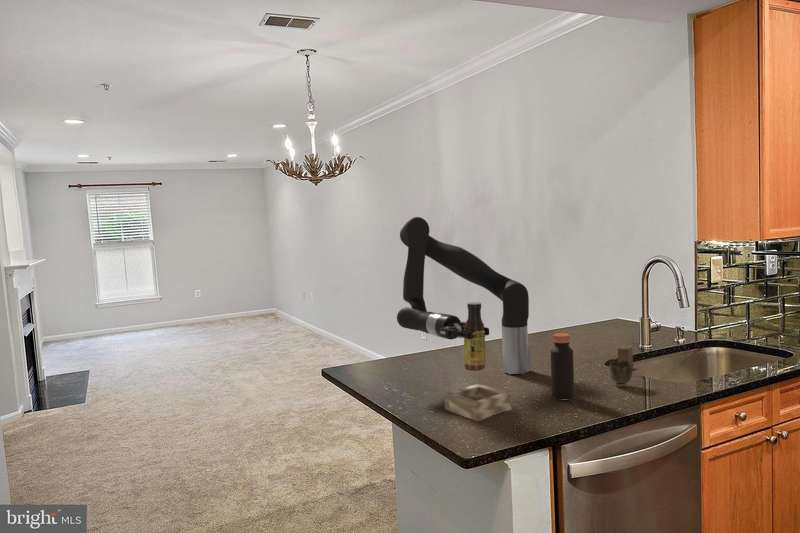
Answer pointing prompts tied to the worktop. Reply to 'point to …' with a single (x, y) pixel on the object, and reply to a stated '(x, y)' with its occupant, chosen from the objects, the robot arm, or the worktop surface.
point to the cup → (621, 372)
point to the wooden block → (625, 354)
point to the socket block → (477, 401)
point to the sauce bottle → (474, 339)
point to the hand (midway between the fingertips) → (480, 333)
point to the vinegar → (562, 367)
